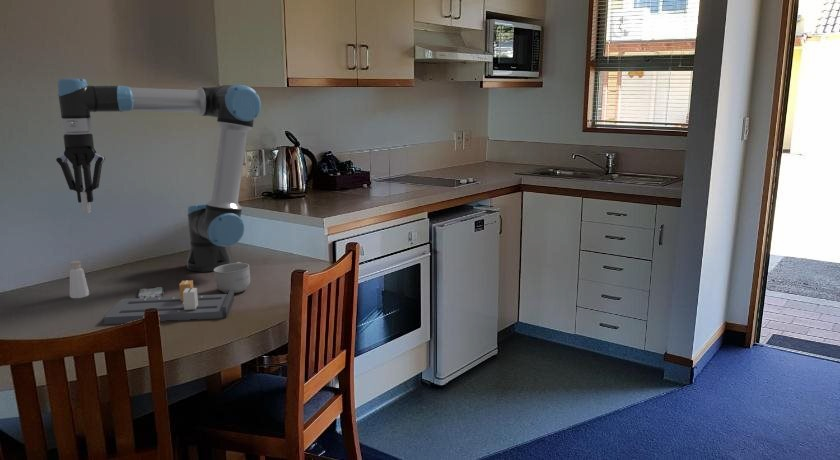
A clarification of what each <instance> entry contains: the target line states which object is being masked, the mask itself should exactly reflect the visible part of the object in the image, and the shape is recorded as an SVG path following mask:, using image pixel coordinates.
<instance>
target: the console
mask: <svg viewBox="0 0 840 460" xmlns="http://www.w3.org/2000/svg"><path fill="white" fill-rule="evenodd" d="M197 296H198V306H197V308H196V309H192V310H184V301H181V298H180V295H179V296H163V297H154V298H137V297H136V298H135V297H134V298H121V299H120V300H119V302H117V304H115V306H114V307H112V308H111V310H109V311H108V312H107V314H105V315H104V317H103V321H104V323H103V324H104V325H119V324H128V323H127V322H130V321H134V320H138V319H142V318H143V316H144V310H145V309H147V308H158V311H159V317H160V321H159V322H163V321H162V320H178V321H191V320H190V319H197V320H213V319H227V317H228V316H229V313H230V311H231V309H232V306H233V304H234V302H235V293H234V290H230V291H229V293H228V294H227V293H221V294H219V293H218V294H216V293H215V294H197ZM233 301H234V302H233ZM232 303H233V304H232Z"/></svg>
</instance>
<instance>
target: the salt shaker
mask: <svg viewBox="0 0 840 460" xmlns="http://www.w3.org/2000/svg"><path fill="white" fill-rule="evenodd" d="M81 261H82V260H81ZM81 261H80V260H73V261H70V267H71V269H70V270H69V298H71V299H82V298H87V297H88V296H89V295H90V291H89V287H88V286H89V285H88V282H87V279H86V278H87V277H86V275H85V270H84V268H82V264H81V263H82V262H81Z"/></svg>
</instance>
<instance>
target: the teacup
mask: <svg viewBox="0 0 840 460" xmlns="http://www.w3.org/2000/svg"><path fill="white" fill-rule="evenodd" d="M250 271H251V270H250V264H249V263H245V262H241V261H237V262H234V263H233V262H231V264H225V265H221V266H218V267H216V268H215V269H214V271H213V272H214V279H215V284H216V287H217V289H218V290H219V291H221V292H223V294H227V293H229V291H230V290H234V294H238V293H241V292H244V291H245V290H246V289H247V288H248V286H249V285H250V284H251V272H250Z"/></svg>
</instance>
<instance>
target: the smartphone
mask: <svg viewBox="0 0 840 460" xmlns="http://www.w3.org/2000/svg"><path fill="white" fill-rule="evenodd" d="M137 291H138V292H137V296H136V298H154V297H164V286H156V287H146V288H139V289H138V290H137Z"/></svg>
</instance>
